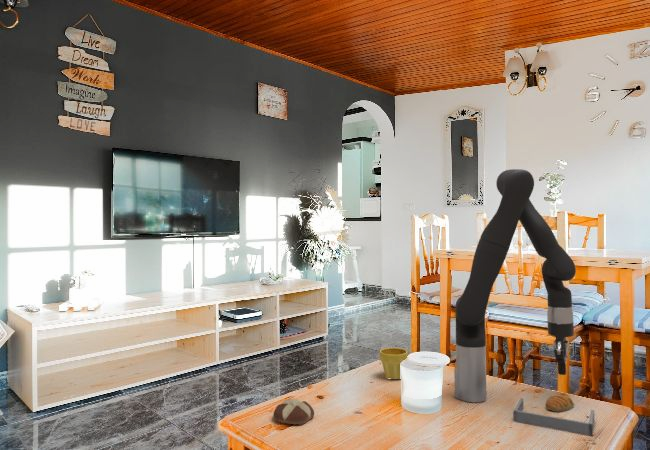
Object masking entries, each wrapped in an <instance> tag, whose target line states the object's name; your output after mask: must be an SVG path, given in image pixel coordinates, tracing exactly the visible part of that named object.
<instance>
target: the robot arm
mask: <svg viewBox="0 0 650 450" xmlns="http://www.w3.org/2000/svg"><path fill="white" fill-rule="evenodd" d="M495 182H496V189H497V191H498V192H499V194H500V195H501V199H500V202H499V206H498V207H497V210H496V212H495V214H494V215H493V217H491V219H490V221H489V222H488V224H487V225H486V226H485V228H484V229H483V231H482V233H481V235H480V237H479V241H478V242H477V246H476V248H475V251H474V256H473V259H472V264H471V269H470V272H469V273H470V275H469V278H468V281H467V284H466V286H465V288H464V290H463V292H462V295H460V296H459V297H458V299H457V300H456V303H455V307H454V308H455V357H456V358H455V362H456V363H455V367H454V371H453V372H454V373H453V375H454V398H455V399H458V400H460V401H463V402H468V403H483V402H485V401H486V400H487V392H488V391H487V359H486V358H487V355H486V354H487V351H486V350H487V345H486V343H487V341H486V340H487V337H486V336H487V335H486V313H487V307H488V303H489V299H490V296H491V291H492V289H493V286H494V284H495V282H496V279H497V278H498V276H499V274H500V271H501V270H502V267H503V265H504V262H505V260H506V258H507V255H508V252H509V251H510V250H509V249H510V247H511V244H512V240H513V238H514V235H515V232H516V230H517V227H518V224H519V222H520V223H521V226H522V227H523V229H524V231H525V233H526V235H527V237H528V239H529V241H530V242H531V244H532V246H533V248H534V249H535V250H534V251H535V252H536V254H537V255H538V256H539V257H541V258H544V259H545V260H544V261H543V263H542V265H541V277H542V279H543V284H544V287H545V290H546V292H547V293H546V294H547V309H546V310H547V313H546V314H547V316H546V317H547V318H546V319H547V333H548V335H549V336H552V337H555V339H554V340H553V347H554V350H553V351H554V356H555V363H557V374H558V375H560V376H565V375H566V374H567V362H568V354H569V350H568V348H569V345H570V344H569V340H567V338H571V337H573V336H574V333H575V332H574V331H575V329H574V311H573V301H572V300H573V298H572V297H573V296H572V291H571V290H570V289H569V288H568V287H566V286H565V285H564V283H563V282H568V281H571V280H573V279H574V277H575V276H576V272H577V268H576V265H575V262H574V261H573V259H572V258H571V256H570V255H569V254H568V252H567V251H566V250H565V249H564V248H563V247H562V246H561V245H560V244H559V241H558V239H557V238H556V236H555V233H554V232H553V230H552V228H551V227H550V225H549V223H547V221H546V220H545V218H544V217H543V216H542V215H541V214H540V213H539V211H538V210H537V209H536V208H535V205H533V203H532V201H531V199H530V197H531V196H532V193H533V190H534V186H535V178H534V177H533V175H532V173H531V172H529V171H528V170H527V169H519V168H518V169H514V168H513V169H506V170H503V171H502V172H501V173H500V174H499V175H498V176H497V179H496V181H495Z"/></svg>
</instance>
